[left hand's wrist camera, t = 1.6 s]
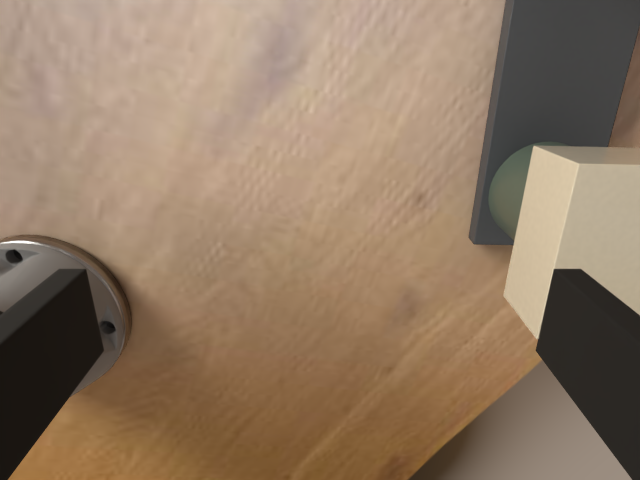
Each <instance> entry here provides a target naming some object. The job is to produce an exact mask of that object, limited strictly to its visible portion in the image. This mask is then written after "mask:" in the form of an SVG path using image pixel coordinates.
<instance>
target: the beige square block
mask: <svg viewBox="0 0 640 480" xmlns="http://www.w3.org/2000/svg"><path fill="white" fill-rule="evenodd" d="M554 269H582V270H583V271H584V272H586V273H587V274H588V275H590V276H591V277H592V278H593V279H595V280H596V281H597V282H598V283H600V284H601V285H602V286H603V287H605V288H606V289H607V290H608V291H610V292H611V293H612V294H614V295H615V296H616V297H617V298H619V299H620V300H621V301H622V302H624V303H625V304H626V305H627V306H629V307H630V308H631V309H633V310H634V311H635V312H636V313H638V314H639V315H640V148H625V147H578V146H533V150H532V155H531V160H530V165H529V170H528V175H527V180H526V185H525V190H524V195H523V200H522V205H521V210H520V215H519V220H518V225H517V230H516V235H515V240H514V245H513V250H512V255H511V260H510V265H509V270H508V275H507V280H506V285H505V290H504V297H505V299H506V300H507V301H508V303H509V304H510V305H511V306H512V308H513V309H514V310H515V312H516V313H517V314H518V316H519V317H520V318H521V320H522V321H523V322H524V324H525V325H526V326H527V327H528V329H529V330H530V331H531V333H532V334H533V335H534V337H535V338H536V339H538V338H539V334H540V329H541V325H542V320H543V316H544V311H545V306H546V302H547V297H548V293H549V288H550V284H551V279H552V274H553V270H554Z"/></svg>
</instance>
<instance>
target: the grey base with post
mask: <svg viewBox="0 0 640 480" xmlns="http://www.w3.org/2000/svg"><path fill="white" fill-rule="evenodd" d="M639 26H640V0H506V4H505V10H504V16H503V23H502V29H501V35H500V42H499V48H498V54H497V61H496V67H495V73H494V80H493V86H492V93H491V99H490V105H489V112H488V118H487V124H486V131H485V137H484V143H483V150H482V156H481V162H480V169H479V175H478V182H477V188H476V194H475V201H474V207H473V213H472V220H471V226H470V232H469V239H470V240H471V241H472V242H473V244H486V245H514V240H515V235H516V230H517V225H518V220H519V215H520V210H521V205H522V200H523V195H524V190H525V185H526V180H527V175H528V170H529V165H530V160H531V155H532V150H533V146H578V147H608V144H609V140H610V136H611V133H612V129H613V125H614V121H615V117H616V114H617V110H618V106H619V102H620V98H621V95H622V91H623V87H624V83H625V79H626V76H627V72H628V68H629V64H630V60H631V57H632V53H633V49H634V45H635V41H636V38H637V34H638V30H639Z"/></svg>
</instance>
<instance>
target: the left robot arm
mask: <svg viewBox="0 0 640 480" xmlns="http://www.w3.org/2000/svg"><path fill="white" fill-rule="evenodd" d="M130 331H131V314H130V309H129V305H128V302H127V299H126V297H125V294H124V292H123V290H122V289H121V287H120V285H119V284H118V282H117V281H116V279H115V278H114V277H113V275H112V274H111V273H110V272H109V271H108V270H107V269H106V268H105V267H104V266H103V265H102V264H101V263H100V262H99V261H97V260H96V259H95V258H94V257H92V256H91V255H89V254H88V253H86V252H85V251H83V250H81V249H79V248H77V247H76V246H74V245H71V244H69V243H67V242H64V241H61V240H58V239H54V238H50V237H45V236H39V235H18V236H12V237H7V238H4V239H1V240H0V480H8V478H9V477H10V476H11V474H12V473H13V472H14V470H15V469H16V468H17V466H18V465H19V464H20V462H21V461H22V460H23V458H24V457H25V456H26V454H27V453H28V452H29V450H30V449H31V448H32V446H33V445H34V444H35V442H36V441H37V440H38V438H39V437H40V436H41V434H42V433H43V432H44V430H45V429H46V428H47V426H48V425H49V424H50V422H51V421H52V420H53V418H54V417H55V416H56V414H57V413H58V412H59V410H60V409H61V408H62V406H63V405H64V404H65V402H66V401H67V400H68V398H69V397H71V396H72V395H74V394H75V393H77V392H79V391H80V390H82V389H83V388H85V387H86V386H88V385H89V384H91V383H92V382H94V381H96V380H97V379H98V378H100V377H101V376H102V375H104V374H105V373H106V372H107V371H108V370H109V369H110V368H111V367H112V366H113V365H114V363H115V362H116V361H117V359H118V358H119V356H120V355H121V353H122V352H123V350H124V349H125V347H126V345H127V342H128V340H129V336H130ZM536 352H537V353H538V354H539V356H540V357H541V358H542V360H543V361H544V362H545V364H546V365H547V366H548V368H549V369H550V370H551V372H552V373H553V374H554V376H555V377H556V378H557V380H558V381H559V382H560V384H561V385H562V386H563V388H564V389H565V390H566V392H567V393H568V394H569V396H570V397H571V398H572V400H573V401H574V402H575V404H576V405H577V406H578V408H579V409H580V410H581V412H582V413H583V414H584V416H585V417H586V418H587V420H588V421H589V422H590V424H591V425H592V426H593V428H594V429H595V430H596V432H597V433H598V434H599V436H600V437H601V438H602V440H603V441H604V442H605V444H606V445H607V446H608V448H609V449H610V450H611V452H612V453H613V454H614V456H615V457H616V458H617V460H618V461H619V462H620V464H621V465H622V466H623V468H624V469H625V470H626V472H627V473H628V474H629V476H630V477H631V478H632V480H640V315H639V314H638V313H636V312H635V311H634V310H633V309H631V308H630V307H629V306H627V305H626V304H625V303H624V302H622V301H621V300H620V299H619V298H617V297H616V296H615V295H614V294H612V293H611V292H610V291H608V290H607V289H606V288H605V287H603V286H602V285H601V284H600V283H598V282H597V281H596V280H595V279H593V278H592V277H591V276H590V275H588V274H587V273H586V272H584V271H583V270H582V269H554V270H553V274H552V279H551V284H550V288H549V293H548V297H547V302H546V306H545V311H544V316H543V320H542V325H541V329H540V334H539V338H538V343H537V347H536Z"/></svg>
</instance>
